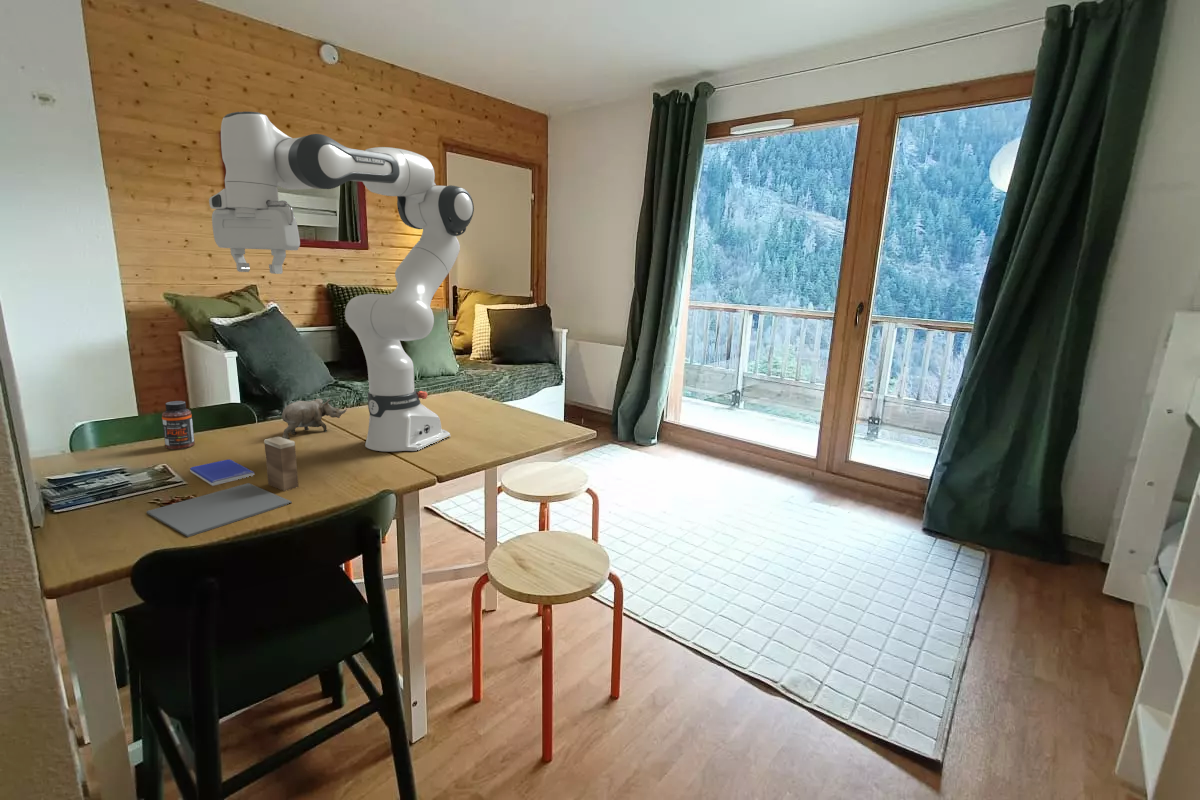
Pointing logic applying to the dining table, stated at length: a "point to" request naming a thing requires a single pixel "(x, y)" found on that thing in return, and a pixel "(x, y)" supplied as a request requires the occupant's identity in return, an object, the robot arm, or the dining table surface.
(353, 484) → the dining table surface
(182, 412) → the supplement bottle
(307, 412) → the rhinoceros figurine
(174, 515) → the mat
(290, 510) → the dining table surface
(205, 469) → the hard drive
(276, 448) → the block
